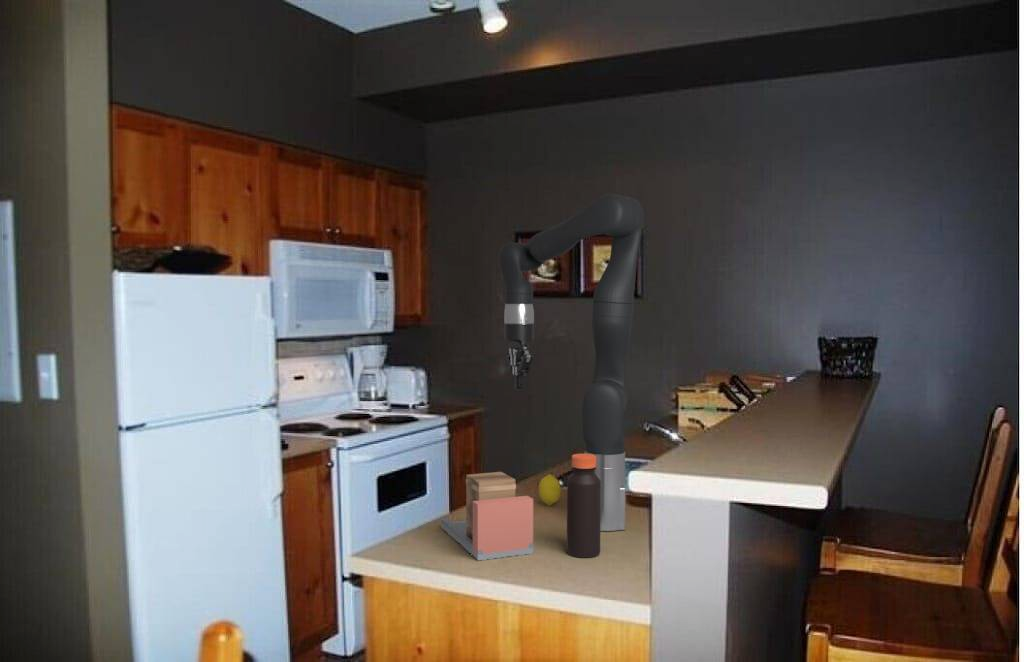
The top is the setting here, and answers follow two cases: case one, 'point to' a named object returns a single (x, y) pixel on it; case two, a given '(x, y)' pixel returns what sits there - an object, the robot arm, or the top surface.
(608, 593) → the top surface
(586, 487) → the bottle
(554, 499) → the lemon
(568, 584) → the top surface
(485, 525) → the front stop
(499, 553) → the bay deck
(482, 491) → the crate
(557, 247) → the robot arm
